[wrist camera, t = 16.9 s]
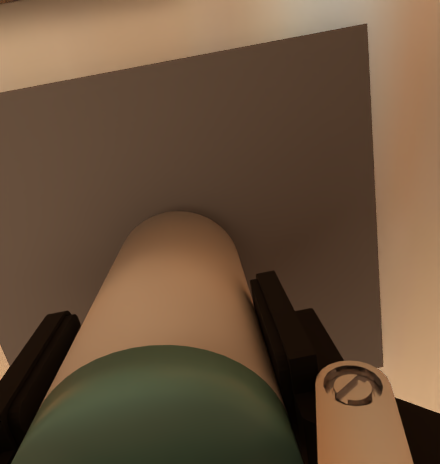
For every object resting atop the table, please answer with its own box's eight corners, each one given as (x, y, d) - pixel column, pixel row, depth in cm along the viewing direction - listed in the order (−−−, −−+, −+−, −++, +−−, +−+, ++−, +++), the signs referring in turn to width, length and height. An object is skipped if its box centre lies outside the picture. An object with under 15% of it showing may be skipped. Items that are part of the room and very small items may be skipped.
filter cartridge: (228, 200, 15) (293, 364, 5) (248, 310, 16) (324, 587, 7) (103, 224, 15) (-58, 434, 5) (134, 332, 16) (55, 642, 7)
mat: (360, 26, 15) (366, 23, 14) (377, 359, 20) (383, 366, 19) (-90, 111, 15) (-101, 111, 14) (43, 425, 20) (39, 434, 19)
